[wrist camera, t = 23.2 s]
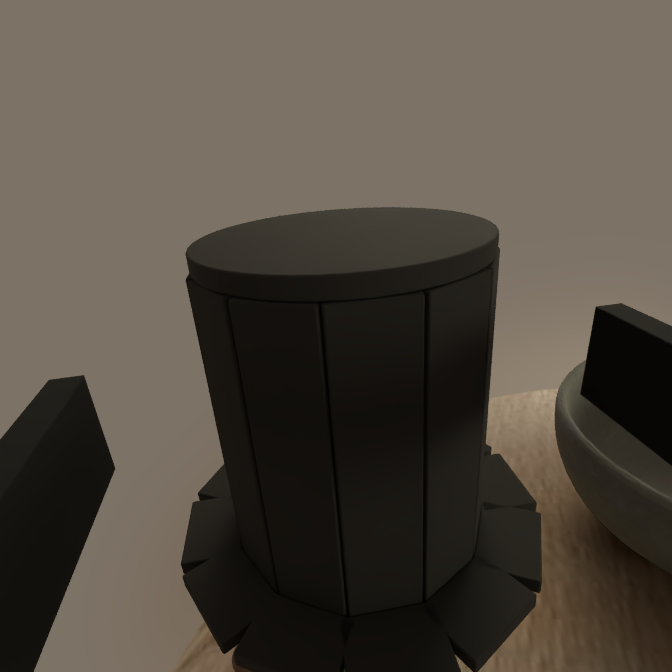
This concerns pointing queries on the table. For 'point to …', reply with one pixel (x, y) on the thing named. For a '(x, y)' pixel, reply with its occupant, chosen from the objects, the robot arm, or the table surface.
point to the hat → (356, 446)
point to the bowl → (615, 474)
